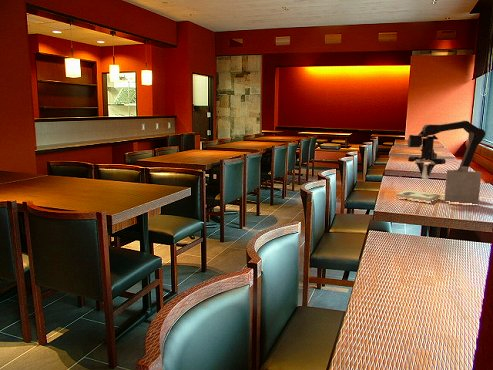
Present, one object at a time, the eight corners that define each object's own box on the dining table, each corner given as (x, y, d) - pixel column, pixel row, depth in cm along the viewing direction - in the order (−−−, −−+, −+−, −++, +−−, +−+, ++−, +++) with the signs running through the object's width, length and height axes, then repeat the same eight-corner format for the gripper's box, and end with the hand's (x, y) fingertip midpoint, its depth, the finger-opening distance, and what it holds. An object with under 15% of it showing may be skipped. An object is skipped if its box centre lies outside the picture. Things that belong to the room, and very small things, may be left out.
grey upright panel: (477, 205, 219) (481, 167, 216) (478, 206, 216) (482, 168, 212) (444, 202, 226) (447, 165, 222) (444, 203, 222) (447, 166, 218)
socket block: (439, 200, 231) (440, 194, 230) (429, 204, 221) (429, 197, 220) (407, 195, 243) (407, 189, 243) (396, 198, 234) (396, 193, 233)
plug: (429, 179, 236) (430, 164, 234) (426, 179, 233) (427, 165, 232) (423, 178, 238) (424, 164, 237) (420, 178, 236) (421, 164, 234)
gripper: (450, 147, 231) (448, 175, 234) (417, 145, 245) (415, 172, 248) (442, 149, 224) (439, 178, 227) (408, 146, 237) (406, 174, 240)
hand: (425, 175), depth 235 cm, fingers closed on plug, 3 cm apart
